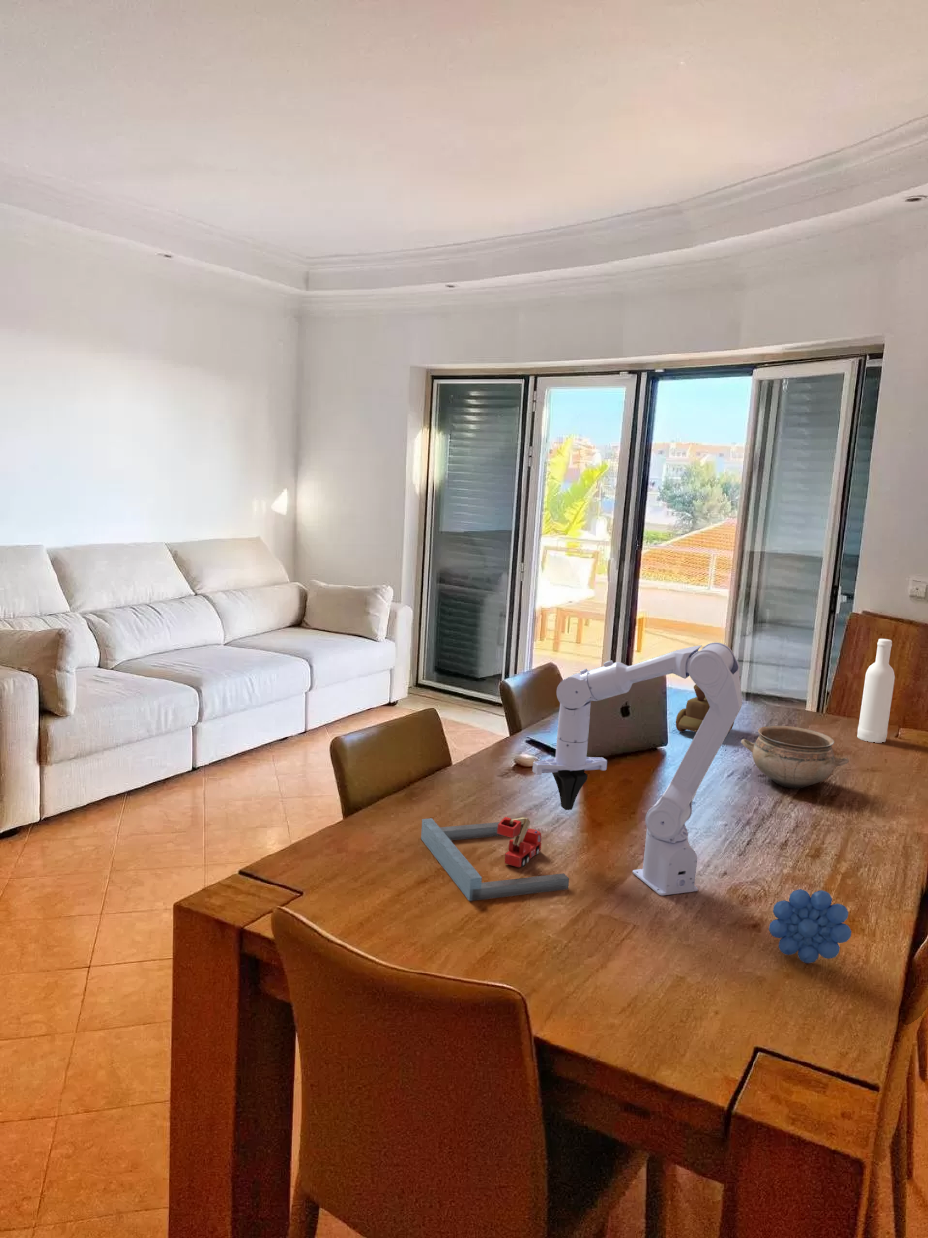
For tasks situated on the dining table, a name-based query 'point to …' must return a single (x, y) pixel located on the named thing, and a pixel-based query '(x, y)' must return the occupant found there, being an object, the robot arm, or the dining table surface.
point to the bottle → (877, 696)
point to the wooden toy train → (693, 712)
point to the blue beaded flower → (810, 925)
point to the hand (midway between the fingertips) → (566, 808)
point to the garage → (465, 872)
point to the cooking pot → (793, 755)
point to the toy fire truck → (519, 840)
